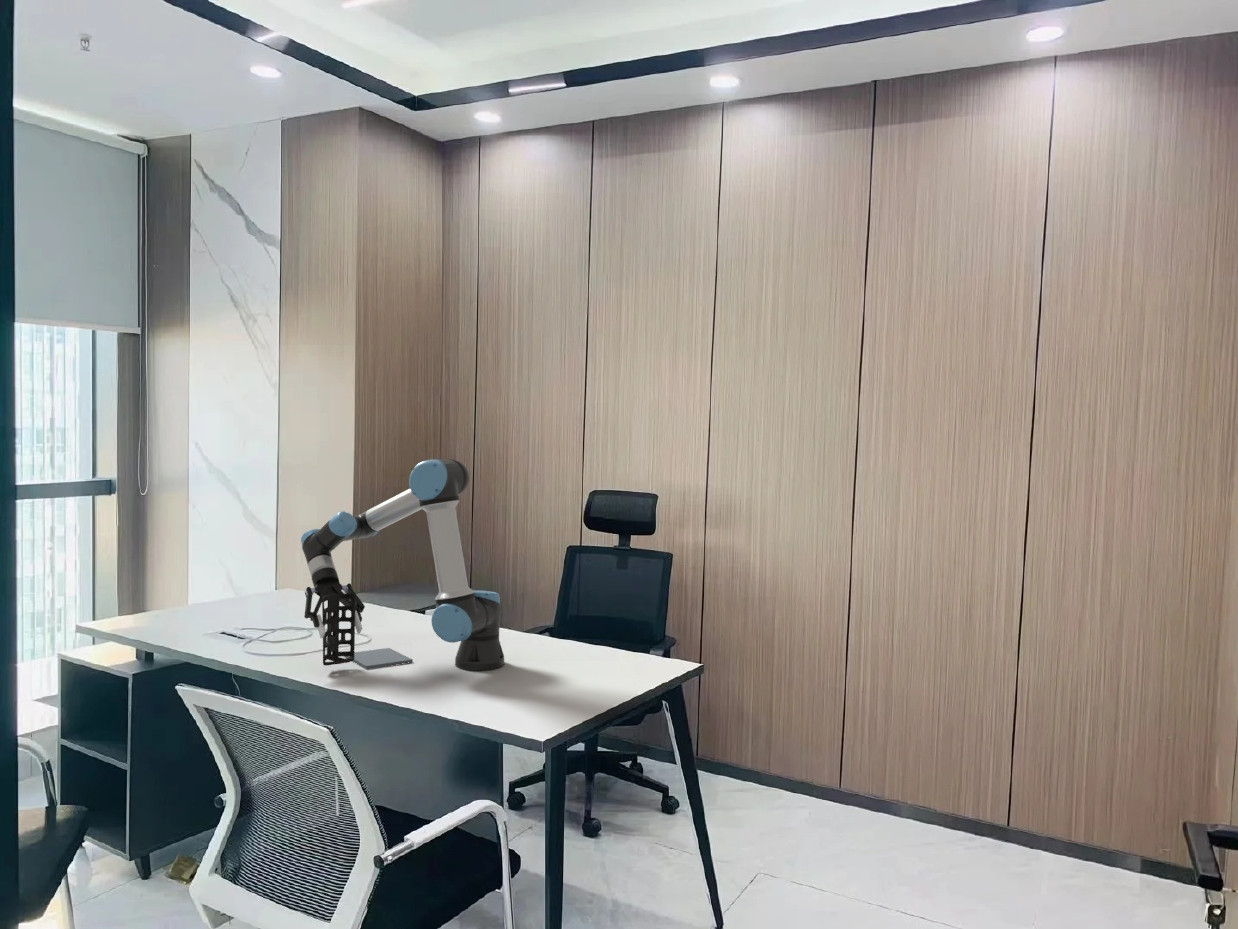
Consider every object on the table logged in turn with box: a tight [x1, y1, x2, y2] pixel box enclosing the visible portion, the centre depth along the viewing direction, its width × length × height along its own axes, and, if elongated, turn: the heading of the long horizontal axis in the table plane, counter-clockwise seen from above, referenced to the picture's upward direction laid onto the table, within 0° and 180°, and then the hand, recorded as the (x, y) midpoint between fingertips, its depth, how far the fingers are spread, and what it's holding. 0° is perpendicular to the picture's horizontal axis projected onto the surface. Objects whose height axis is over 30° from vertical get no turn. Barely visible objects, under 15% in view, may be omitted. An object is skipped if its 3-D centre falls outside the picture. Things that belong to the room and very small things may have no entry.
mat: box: [343, 647, 414, 670], centre depth 279 cm, size 18×15×1 cm
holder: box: [321, 593, 356, 666], centre depth 265 cm, size 11×8×20 cm
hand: (341, 633), depth 263 cm, fingers closed on holder, 10 cm apart
